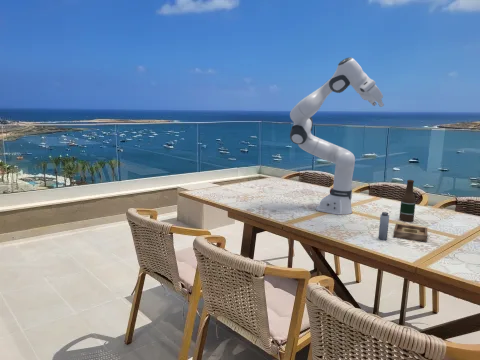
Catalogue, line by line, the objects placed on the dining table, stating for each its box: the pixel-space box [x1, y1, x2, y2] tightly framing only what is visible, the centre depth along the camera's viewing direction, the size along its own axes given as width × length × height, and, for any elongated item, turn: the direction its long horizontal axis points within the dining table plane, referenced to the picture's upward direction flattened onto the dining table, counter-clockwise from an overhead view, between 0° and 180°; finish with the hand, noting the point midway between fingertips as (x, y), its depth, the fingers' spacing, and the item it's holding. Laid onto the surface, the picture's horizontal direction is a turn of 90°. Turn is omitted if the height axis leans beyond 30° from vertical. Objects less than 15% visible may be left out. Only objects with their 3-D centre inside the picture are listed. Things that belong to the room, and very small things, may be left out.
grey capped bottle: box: [377, 211, 390, 241], centre depth 178 cm, size 4×4×13 cm
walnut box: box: [393, 223, 428, 243], centre depth 185 cm, size 15×15×3 cm
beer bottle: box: [398, 179, 417, 223], centre depth 211 cm, size 8×8×24 cm
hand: (378, 105), depth 188 cm, fingers open, 8 cm apart
